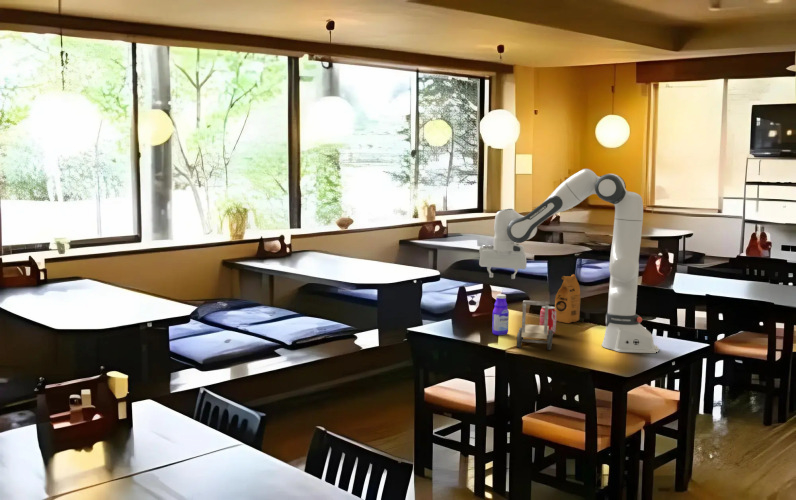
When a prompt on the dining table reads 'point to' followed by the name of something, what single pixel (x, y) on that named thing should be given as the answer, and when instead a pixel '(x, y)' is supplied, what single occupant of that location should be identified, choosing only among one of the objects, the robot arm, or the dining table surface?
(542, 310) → the soda can
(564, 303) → the coffee package
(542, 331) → the trolley
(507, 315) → the bottle
